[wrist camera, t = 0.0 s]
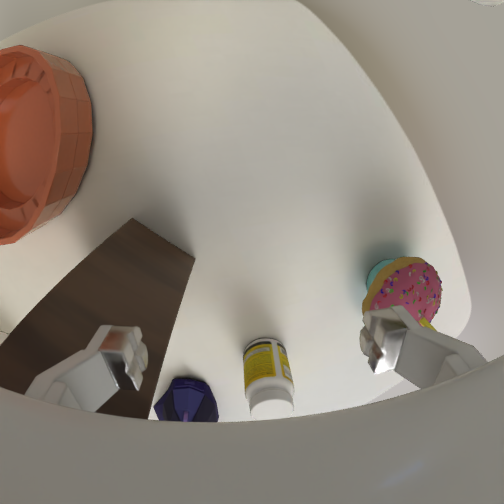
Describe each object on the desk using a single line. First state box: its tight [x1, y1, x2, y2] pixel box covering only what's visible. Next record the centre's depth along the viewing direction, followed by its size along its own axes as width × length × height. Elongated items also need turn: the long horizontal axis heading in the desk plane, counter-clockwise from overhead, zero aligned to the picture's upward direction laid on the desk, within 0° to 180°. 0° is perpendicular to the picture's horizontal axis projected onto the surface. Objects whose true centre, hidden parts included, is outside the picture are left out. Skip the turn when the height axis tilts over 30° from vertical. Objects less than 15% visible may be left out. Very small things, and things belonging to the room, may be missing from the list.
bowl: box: [0, 45, 93, 245], centre depth 18 cm, size 18×18×6 cm
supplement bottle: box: [243, 338, 294, 421], centre depth 27 cm, size 5×5×8 cm
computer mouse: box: [154, 379, 219, 422], centre depth 32 cm, size 9×15×4 cm, turn 171°
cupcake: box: [362, 257, 443, 331], centre depth 22 cm, size 9×8×12 cm
